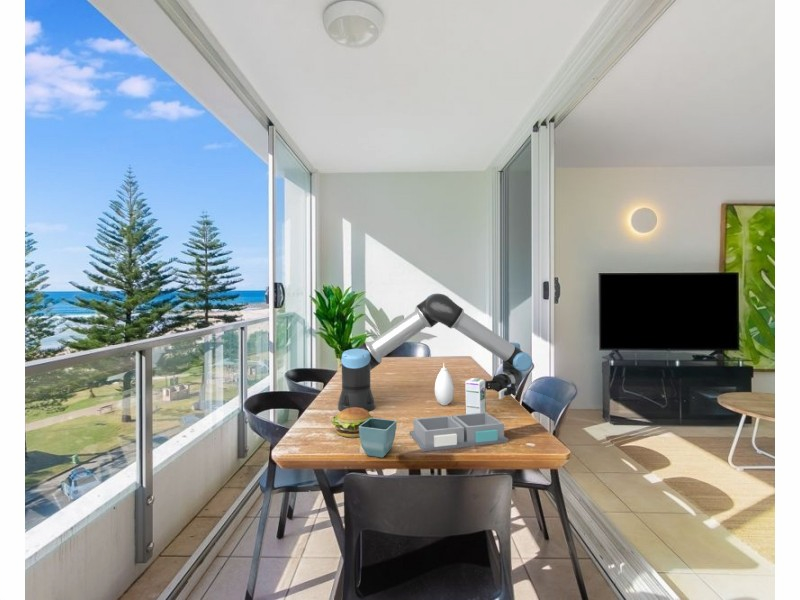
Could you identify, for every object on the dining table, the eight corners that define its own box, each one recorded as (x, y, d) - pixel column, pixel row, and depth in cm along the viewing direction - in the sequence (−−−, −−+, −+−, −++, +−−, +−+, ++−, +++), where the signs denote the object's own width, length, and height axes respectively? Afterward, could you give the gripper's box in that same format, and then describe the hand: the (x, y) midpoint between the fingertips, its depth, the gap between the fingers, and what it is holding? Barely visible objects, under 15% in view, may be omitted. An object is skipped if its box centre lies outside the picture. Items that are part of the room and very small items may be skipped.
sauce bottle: (431, 404, 166) (430, 361, 165) (444, 401, 170) (444, 359, 170) (443, 408, 159) (443, 364, 159) (457, 405, 164) (457, 362, 164)
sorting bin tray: (422, 451, 117) (422, 433, 117) (409, 434, 131) (409, 417, 131) (508, 442, 123) (508, 424, 123) (486, 426, 138) (486, 410, 138)
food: (324, 431, 135) (324, 408, 135) (359, 423, 143) (359, 401, 143) (344, 443, 124) (344, 418, 124) (381, 433, 132) (381, 409, 132)
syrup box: (480, 422, 143) (480, 382, 142) (465, 419, 146) (465, 380, 146) (486, 417, 148) (485, 379, 147) (471, 415, 151) (470, 377, 150)
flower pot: (397, 449, 118) (397, 420, 118) (387, 461, 110) (386, 429, 110) (370, 446, 121) (370, 417, 121) (358, 457, 113) (357, 426, 113)
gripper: (533, 395, 160) (514, 407, 143) (476, 387, 175) (453, 397, 157) (533, 376, 160) (514, 387, 143) (476, 370, 174) (453, 378, 157)
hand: (482, 392), depth 150 cm, fingers open, 13 cm apart
